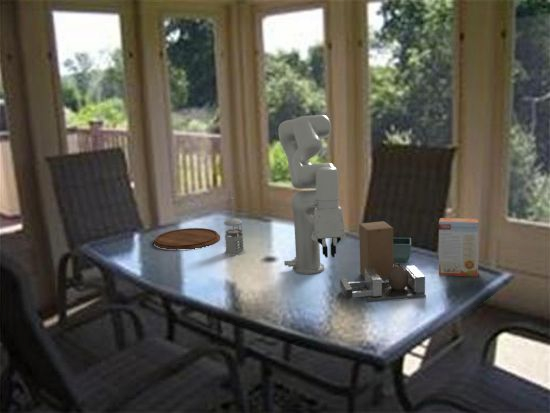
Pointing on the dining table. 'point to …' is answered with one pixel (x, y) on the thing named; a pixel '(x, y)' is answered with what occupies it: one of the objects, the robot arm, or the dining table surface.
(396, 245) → the flower pot
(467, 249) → the cracker box
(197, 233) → the cutting board
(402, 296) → the vise
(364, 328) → the dining table surface
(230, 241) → the french press
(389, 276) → the vase
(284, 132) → the robot arm
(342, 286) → the sliding jaw
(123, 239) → the dining table surface
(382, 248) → the wooden block
